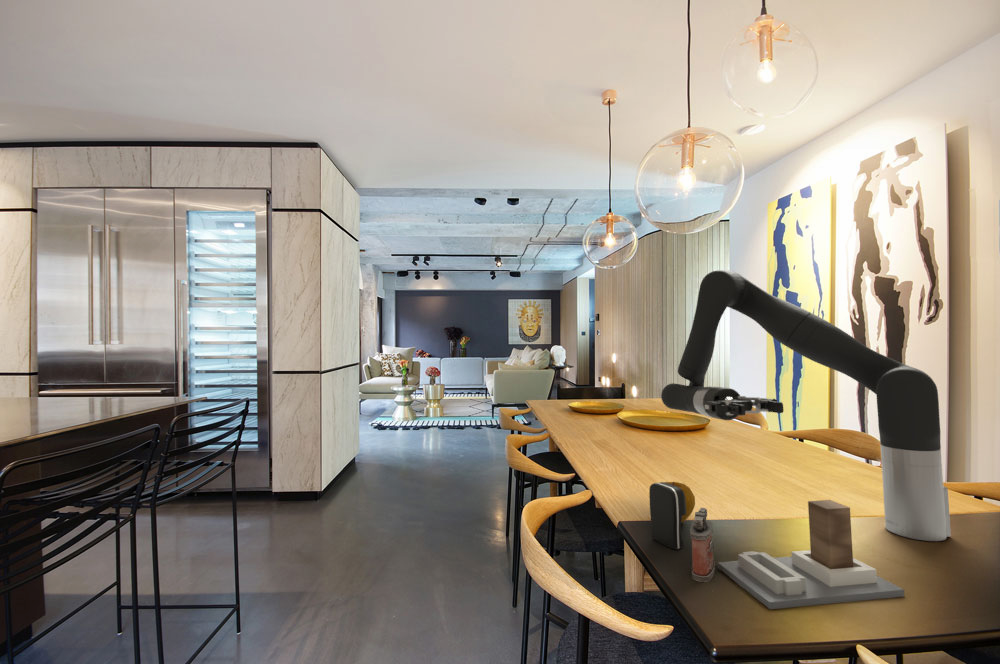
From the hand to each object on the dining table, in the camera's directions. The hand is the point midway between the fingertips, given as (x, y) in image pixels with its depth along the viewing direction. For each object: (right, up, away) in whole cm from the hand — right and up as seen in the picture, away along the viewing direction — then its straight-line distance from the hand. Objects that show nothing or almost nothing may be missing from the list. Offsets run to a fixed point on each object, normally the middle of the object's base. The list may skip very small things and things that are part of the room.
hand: (762, 409), depth 95 cm
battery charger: (-21, -26, -4) cm, 33 cm away
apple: (-16, -26, +7) cm, 31 cm away
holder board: (-5, -25, -20) cm, 32 cm away
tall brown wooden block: (0, -24, -20) cm, 31 cm away
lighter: (-19, -25, -16) cm, 36 cm away
